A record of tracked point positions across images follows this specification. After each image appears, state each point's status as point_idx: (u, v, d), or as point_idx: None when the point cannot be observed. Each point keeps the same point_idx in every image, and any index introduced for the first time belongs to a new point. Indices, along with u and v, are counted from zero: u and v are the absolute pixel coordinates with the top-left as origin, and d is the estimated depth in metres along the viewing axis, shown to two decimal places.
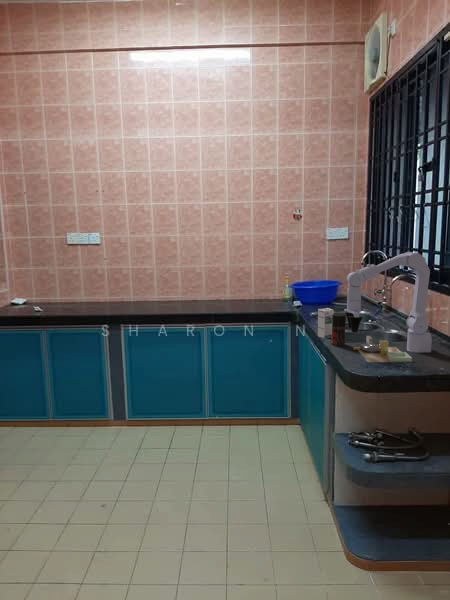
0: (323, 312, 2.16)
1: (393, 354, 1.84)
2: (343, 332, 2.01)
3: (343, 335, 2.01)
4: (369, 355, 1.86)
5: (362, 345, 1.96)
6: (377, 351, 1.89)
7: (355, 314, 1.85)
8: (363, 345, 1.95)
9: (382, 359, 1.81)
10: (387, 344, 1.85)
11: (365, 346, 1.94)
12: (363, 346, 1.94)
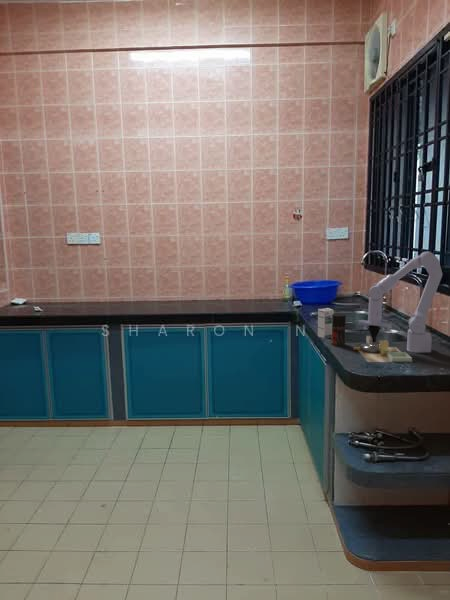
0: (323, 312, 2.16)
1: (393, 354, 1.84)
2: (343, 332, 2.01)
3: (343, 335, 2.01)
4: (369, 355, 1.86)
5: (362, 345, 1.96)
6: (377, 351, 1.89)
7: None
8: (363, 345, 1.95)
9: (382, 359, 1.81)
10: (387, 344, 1.85)
11: (365, 346, 1.94)
12: (363, 346, 1.94)
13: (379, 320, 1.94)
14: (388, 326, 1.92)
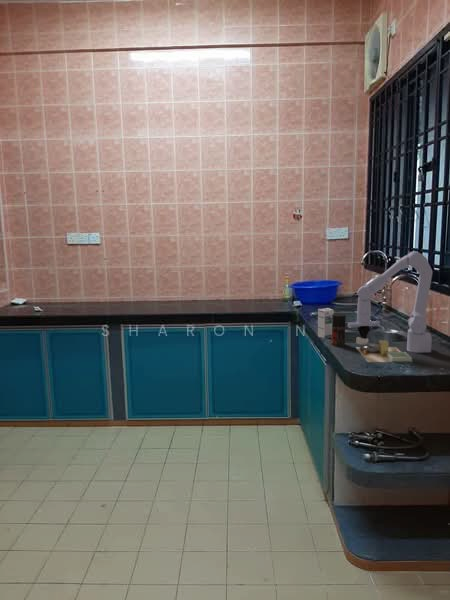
0: (323, 312, 2.16)
1: (393, 354, 1.84)
2: (343, 332, 2.01)
3: (343, 335, 2.01)
4: (369, 355, 1.86)
5: (365, 347, 1.92)
6: None
7: None
8: (366, 347, 1.92)
9: (382, 359, 1.81)
10: (387, 344, 1.85)
11: (370, 347, 1.92)
12: (368, 347, 1.92)
13: None
14: (378, 323, 1.97)
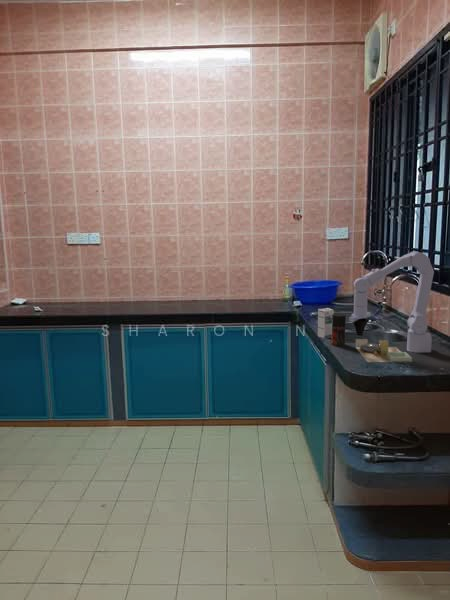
0: (323, 312, 2.16)
1: (393, 354, 1.84)
2: (343, 332, 2.01)
3: (343, 335, 2.01)
4: (369, 355, 1.86)
5: (370, 348, 1.91)
6: None
7: (350, 319, 1.90)
8: (370, 348, 1.91)
9: (382, 359, 1.81)
10: (387, 344, 1.85)
11: (374, 348, 1.91)
12: (373, 348, 1.91)
13: None
14: (370, 314, 1.98)
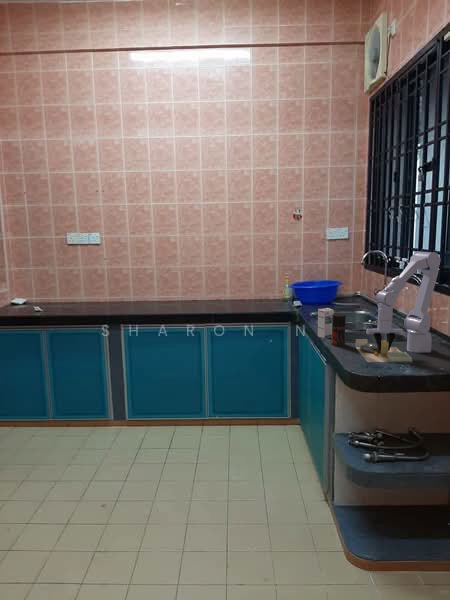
0: (323, 312, 2.16)
1: (393, 354, 1.84)
2: (343, 332, 2.01)
3: (343, 335, 2.01)
4: (369, 355, 1.86)
5: (371, 348, 1.90)
6: None
7: None
8: (370, 348, 1.91)
9: (382, 359, 1.81)
10: (387, 344, 1.85)
11: (374, 348, 1.91)
12: (373, 348, 1.91)
13: (391, 326, 1.84)
14: (401, 331, 1.84)
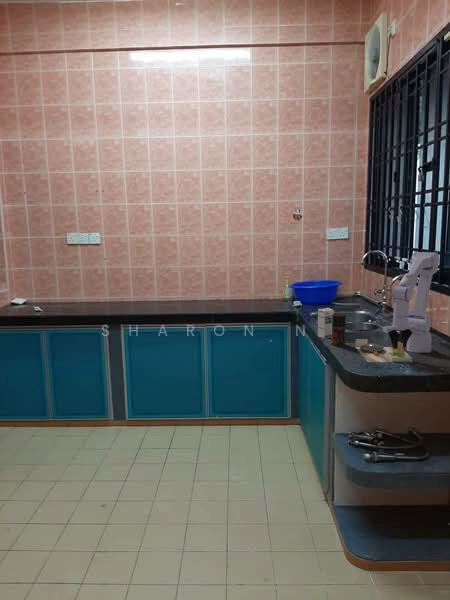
0: (323, 312, 2.16)
1: None
2: (343, 332, 2.01)
3: (343, 335, 2.01)
4: (369, 355, 1.86)
5: (371, 348, 1.90)
6: None
7: (383, 328, 1.77)
8: (370, 348, 1.91)
9: (382, 359, 1.81)
10: (402, 345, 1.79)
11: (374, 348, 1.91)
12: (373, 348, 1.91)
13: None
14: (415, 327, 1.80)
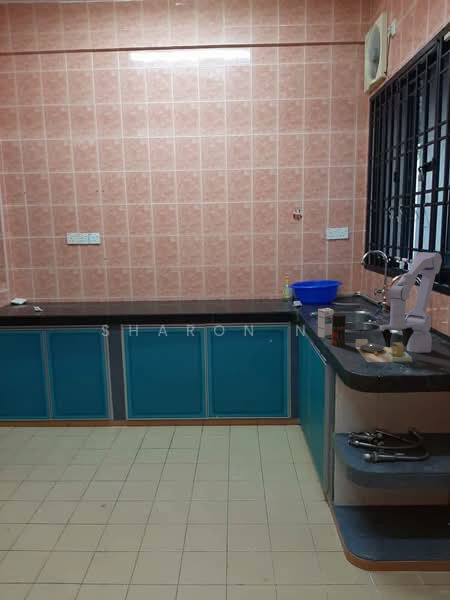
0: (323, 312, 2.16)
1: None
2: (343, 332, 2.01)
3: (343, 335, 2.01)
4: (369, 355, 1.86)
5: (371, 348, 1.90)
6: None
7: (380, 327, 1.80)
8: (370, 348, 1.91)
9: (382, 359, 1.81)
10: (402, 346, 1.80)
11: (374, 348, 1.91)
12: (373, 348, 1.91)
13: None
14: (413, 326, 1.81)
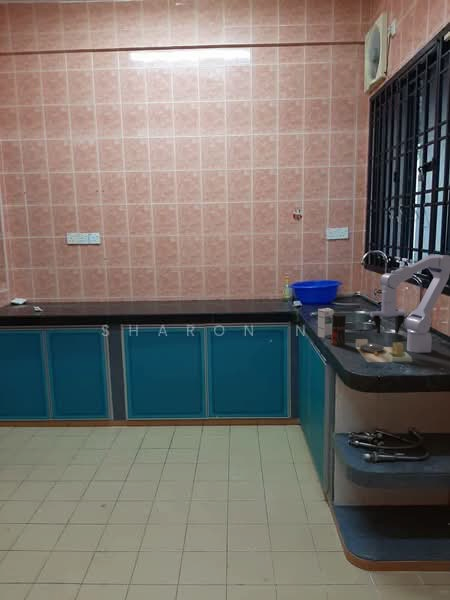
0: (323, 312, 2.16)
1: None
2: (343, 332, 2.01)
3: (343, 335, 2.01)
4: (369, 355, 1.86)
5: (371, 348, 1.90)
6: None
7: (370, 313, 1.87)
8: (370, 348, 1.91)
9: (382, 359, 1.81)
10: (402, 346, 1.80)
11: (374, 348, 1.91)
12: (373, 348, 1.91)
13: (395, 309, 1.85)
14: (405, 314, 1.85)
